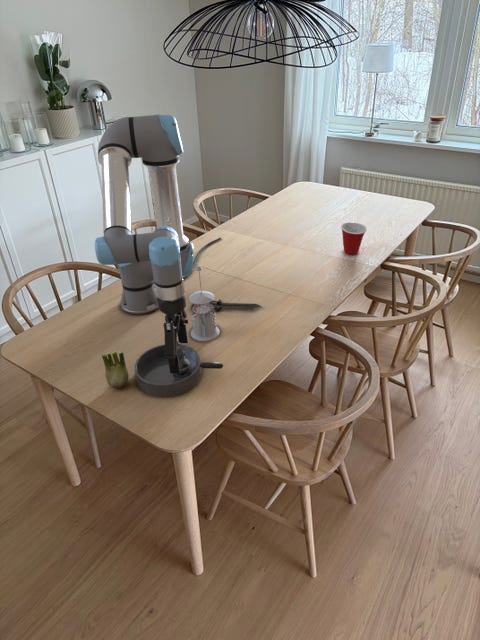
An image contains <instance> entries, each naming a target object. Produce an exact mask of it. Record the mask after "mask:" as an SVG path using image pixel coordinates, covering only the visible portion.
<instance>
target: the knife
mask: <svg viewBox="0 0 480 640" xmlns="http://www.w3.org/2000/svg"><path fill="white" fill-rule="evenodd" d="M210 304H212V305H213V307H214V310H215V311H216V313H218V312H220V311H221V310H222V309H224V310H254V309H257V308H259V307H260V308H262V307H263V306H262V305H260V304H257V303H244V302H243V303H242V302H241V303H240V302H238V303H237V302H223V300H221V299H218V301H217V300H213V301H211V302H210ZM194 305H195V304H192V307H193V306H194ZM192 307H191V308H192Z"/></svg>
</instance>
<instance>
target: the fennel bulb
mask: <svg viewBox="0 0 480 640" xmlns="http://www.w3.org/2000/svg"><path fill="white" fill-rule="evenodd" d="M101 358H102V361H103V364H104V369H105V370H104V372H105V380H106V382H107V384H108V386H110V387H111V388H113V389H121V388H124V387H125V386H126V385H127V384H128V382H129V370H128V366H127V364H126V360H125V354H124V351H122V350H120V351H118V353H117V351H115V350H114V351H112V352H108V353H102V354H101Z"/></svg>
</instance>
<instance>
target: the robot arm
mask: <svg viewBox="0 0 480 640" xmlns="http://www.w3.org/2000/svg"><path fill="white" fill-rule="evenodd" d="M183 147H184V146H183V143H182V138H181V134H180V129H179V125H178V122H177V119H176V117H175V116H174V115H172V114H150V115H139V116H137V115H136V116H125V117H121V118H118V119H116V120H115V121H114V122H112V123H111V124H110V125H109V126H108V127H107V128H106V129H105V130H104V132H103V134H102V136H101V138H100V140H99V143H98V147H97V162H98V163H99V164H100V166H101V188H102V189H101V190H102V222H103V223H102V228H103V230H102V231H103V236H102V235H101V236H100V237H99V236H98V237H97V238H95V240H94V252H95V257H96V260H97V261H98V263H99V264H100V265H102V266H117V267H118V272H119V276H120V281H121V286H122V290H121V296H120V306H121V307H120V308H121V309H122V311H123V312H124V313H126V314H129V315H135V316H136V315H145V314H146V315H147V314H150V313H152V312H155V311H156V310H159V312H161V313H162V314H164V322H163V332H164V344H165V354H164V357H165V359H168V362H169V368H170V373H180V366H179V359H178V353H177V341H178V342H180V343H182V344H189V339H188V338H189V337H188V332H187V324H189V319H187V313H186V310H185V309H186V307H187V300H186V299H187V298H186V294H185V292H186V291H185V283H184V280H185V279H187V278H188V277H189V276H190V275H192V274H193V271H194V268H195V265H196V263H197V260H198V258H199V257H200V255H201V253H202V252H203V251H204V250H205V249H206V248H207V247H208V246H210V245H211V244H214V243H216V242H219V241H220V240H222V237H219V238H216V239H214V240H212V241H210V242H208V243H207V244H205V245H204V246H203V247H201V248H200V250H199V251H198V252H197V254H196V256H195V258H194V244H193V242H191V241H189V238H188V236H186V235H185V234H184V227H183V219H182V211H181V210H182V209H181V202H180V194H179V193H180V192H179V184H178V177H177V165H178V164H179V162H180V161H181V159H180V158H181V157H180V156H182V155H184V148H183ZM132 159H141V162H142V165H143V166H144V167H146V168H147V170H148V176H149V181H150V182H149V183H150V189H151V197H152V202H153V203H152V204H153V209H154V215H155V223H156V228H155V229H154V230H153V232H144V233H133V227H132V210H131V209H132V208H131V191H130V188H131V187H130V171H129V169H130V168H129V167H130V166H131V164H132Z"/></svg>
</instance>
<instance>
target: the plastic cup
mask: <svg viewBox="0 0 480 640" xmlns="http://www.w3.org/2000/svg"><path fill="white" fill-rule="evenodd" d="M340 228H341V234H342V245H343V253H344V255H346V256H356V255H358V253H359V250H360V248H361V244H362V242H363V238H364V236H365V233H366V232H367V230H368V228H367V226H366V225H364V224H362V223H359V222H354V221H347V222H344V223H342V224H341V226H340Z"/></svg>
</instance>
